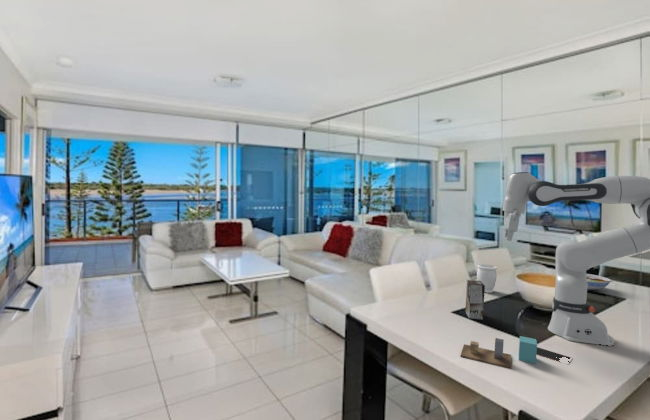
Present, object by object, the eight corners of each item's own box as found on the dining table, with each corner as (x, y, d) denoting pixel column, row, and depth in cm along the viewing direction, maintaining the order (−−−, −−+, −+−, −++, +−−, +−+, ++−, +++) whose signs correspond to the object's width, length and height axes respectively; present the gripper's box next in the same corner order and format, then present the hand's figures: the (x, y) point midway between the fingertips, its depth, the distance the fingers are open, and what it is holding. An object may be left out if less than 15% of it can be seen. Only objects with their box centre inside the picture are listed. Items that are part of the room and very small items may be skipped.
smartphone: (568, 364, 122) (524, 350, 131) (568, 366, 122) (524, 351, 132) (573, 357, 126) (529, 344, 136) (572, 359, 126) (529, 346, 136)
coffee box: (483, 319, 162) (485, 285, 161) (468, 318, 163) (470, 284, 162) (478, 312, 171) (480, 280, 170) (464, 311, 172) (466, 279, 171)
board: (511, 356, 127) (511, 345, 126) (510, 368, 118) (511, 357, 118) (464, 345, 134) (464, 335, 134) (460, 356, 126) (461, 345, 125)
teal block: (534, 357, 126) (536, 339, 126) (535, 363, 122) (537, 344, 121) (518, 353, 129) (519, 335, 128) (518, 359, 124) (519, 341, 124)
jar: (472, 288, 212) (473, 264, 210) (486, 287, 215) (487, 263, 214) (485, 294, 201) (486, 268, 200) (499, 293, 205) (501, 267, 203)
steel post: (502, 358, 125) (503, 339, 124) (502, 361, 123) (503, 342, 122) (494, 356, 126) (495, 337, 126) (494, 359, 124) (495, 340, 123)
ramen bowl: (609, 288, 222) (610, 275, 221) (615, 297, 203) (616, 283, 202) (562, 281, 235) (563, 269, 235) (563, 289, 216) (564, 276, 215)
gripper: (525, 211, 144) (518, 243, 146) (518, 207, 163) (513, 236, 165) (508, 208, 146) (502, 241, 148) (504, 205, 165) (498, 234, 167)
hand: (508, 238), depth 157 cm, fingers open, 8 cm apart
